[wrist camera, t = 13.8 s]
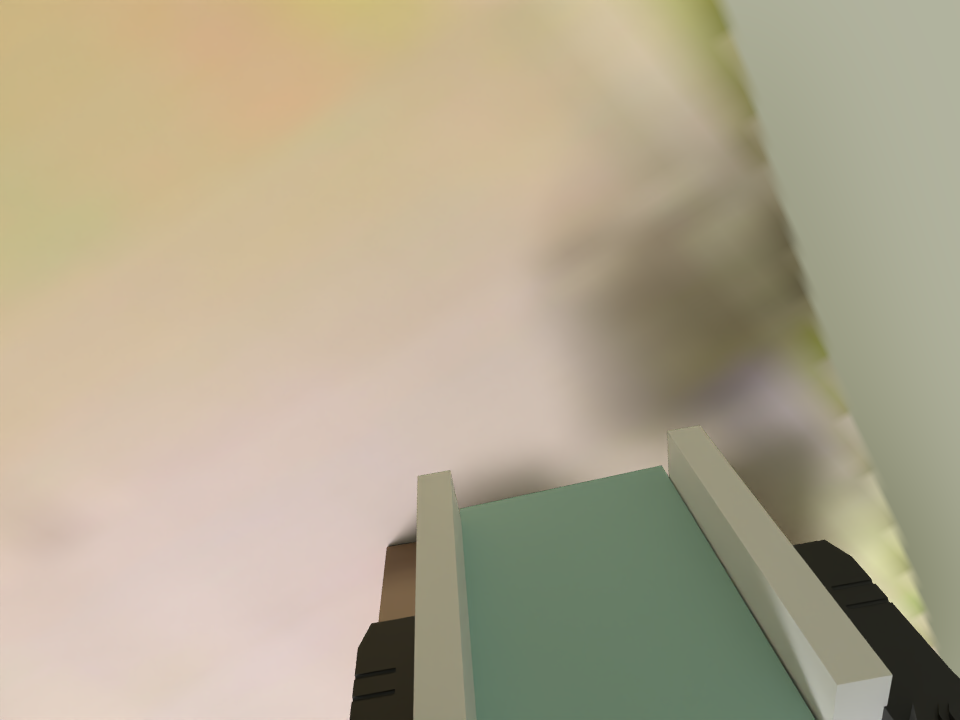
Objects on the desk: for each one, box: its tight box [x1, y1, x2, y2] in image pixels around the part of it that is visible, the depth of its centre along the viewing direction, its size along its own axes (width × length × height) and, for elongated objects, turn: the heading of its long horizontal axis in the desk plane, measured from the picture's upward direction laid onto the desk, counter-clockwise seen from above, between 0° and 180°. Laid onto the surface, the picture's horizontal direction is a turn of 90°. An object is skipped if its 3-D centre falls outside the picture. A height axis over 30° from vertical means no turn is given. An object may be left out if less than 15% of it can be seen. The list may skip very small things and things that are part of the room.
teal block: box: [460, 466, 815, 720], centre depth 13 cm, size 5×5×7 cm
